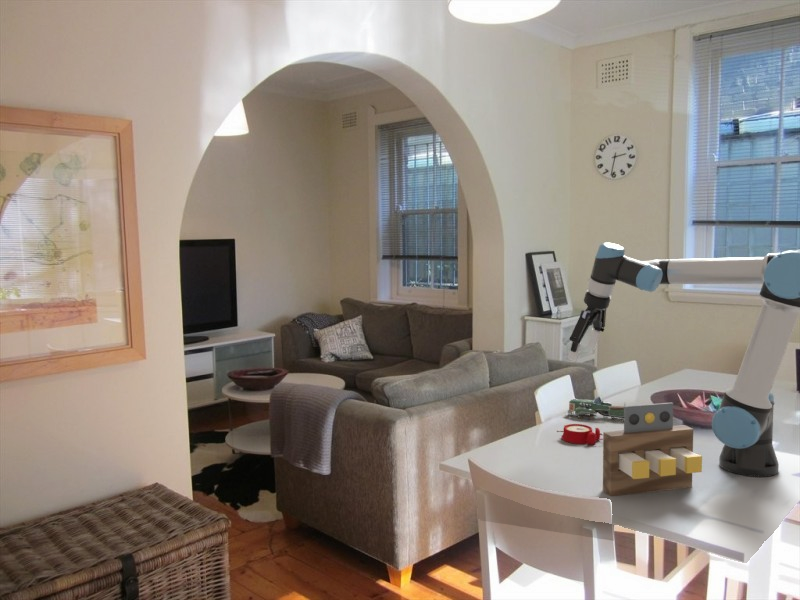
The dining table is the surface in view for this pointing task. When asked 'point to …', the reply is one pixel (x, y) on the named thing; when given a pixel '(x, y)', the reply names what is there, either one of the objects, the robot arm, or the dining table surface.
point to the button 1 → (633, 465)
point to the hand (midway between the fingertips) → (581, 354)
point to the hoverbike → (595, 408)
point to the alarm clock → (580, 434)
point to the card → (648, 417)
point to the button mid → (660, 462)
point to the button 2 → (686, 459)
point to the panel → (637, 443)
